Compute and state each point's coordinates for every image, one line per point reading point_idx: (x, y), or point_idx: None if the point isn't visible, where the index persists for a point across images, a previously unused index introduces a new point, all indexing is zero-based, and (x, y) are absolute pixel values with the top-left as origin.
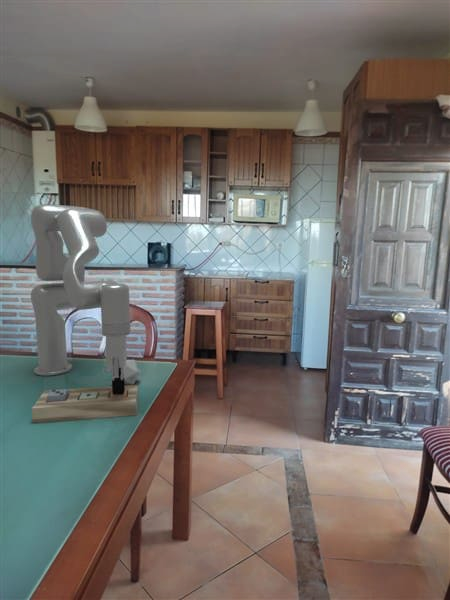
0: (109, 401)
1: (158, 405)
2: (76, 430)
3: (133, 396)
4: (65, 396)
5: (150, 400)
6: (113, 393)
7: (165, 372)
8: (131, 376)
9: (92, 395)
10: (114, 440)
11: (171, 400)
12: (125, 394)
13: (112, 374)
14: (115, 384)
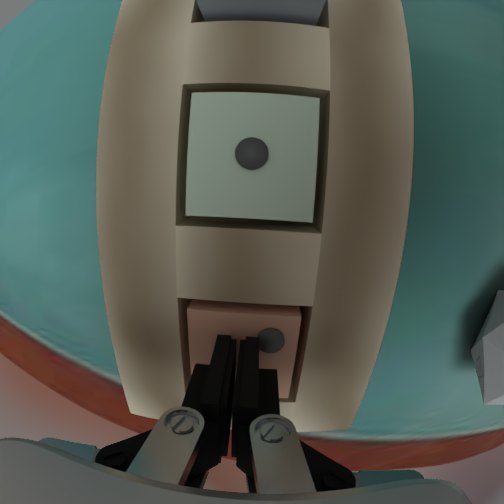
0: (123, 306)
1: None
2: (54, 147)
3: None
4: (227, 4)
5: None
6: (218, 338)
7: (490, 417)
8: (482, 374)
9: (241, 184)
10: (7, 286)
11: None
12: None
13: (137, 459)
14: (184, 399)
